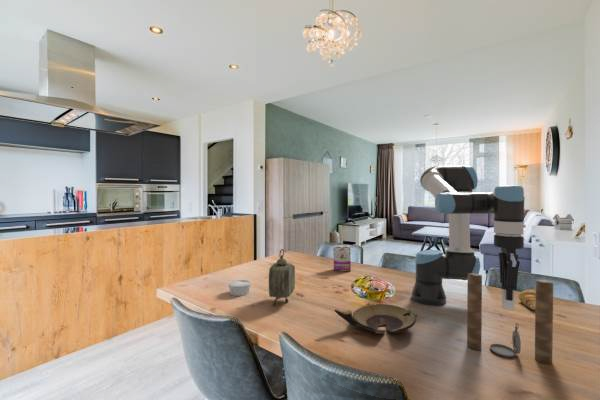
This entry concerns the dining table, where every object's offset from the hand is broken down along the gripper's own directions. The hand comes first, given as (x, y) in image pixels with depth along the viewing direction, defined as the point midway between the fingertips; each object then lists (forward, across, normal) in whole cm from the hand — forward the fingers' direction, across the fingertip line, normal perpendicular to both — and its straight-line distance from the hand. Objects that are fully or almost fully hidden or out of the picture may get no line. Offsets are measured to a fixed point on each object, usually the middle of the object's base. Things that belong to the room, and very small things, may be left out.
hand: (507, 309), depth 87 cm
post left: (+14, 0, +9) cm, 17 cm away
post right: (+14, 0, -9) cm, 17 cm away
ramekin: (+14, +11, +111) cm, 112 cm away
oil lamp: (+15, +2, +41) cm, 44 cm away
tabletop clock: (+14, +9, +85) cm, 87 cm away
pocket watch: (+14, 0, 0) cm, 14 cm away
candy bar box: (+14, +74, +74) cm, 106 cm away
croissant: (+14, +53, -22) cm, 59 cm away
